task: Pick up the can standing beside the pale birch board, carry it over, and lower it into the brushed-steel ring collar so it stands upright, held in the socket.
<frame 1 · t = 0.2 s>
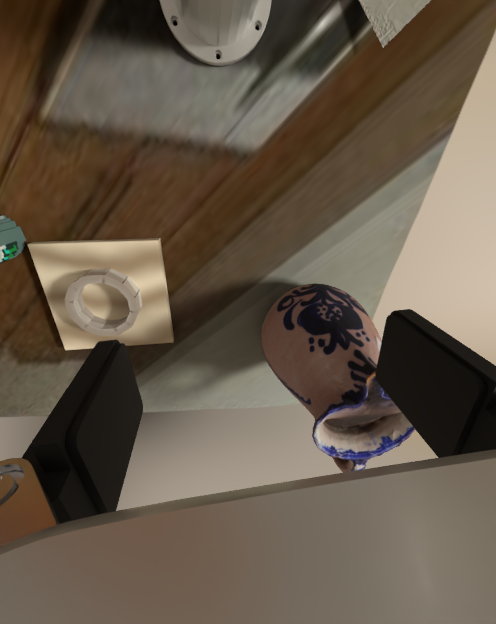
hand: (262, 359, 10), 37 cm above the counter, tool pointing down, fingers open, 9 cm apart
can: (1, 235, 40), on the counter
socket board: (111, 295, 46), on the counter
ceramic pitcher: (301, 323, 53), on the counter
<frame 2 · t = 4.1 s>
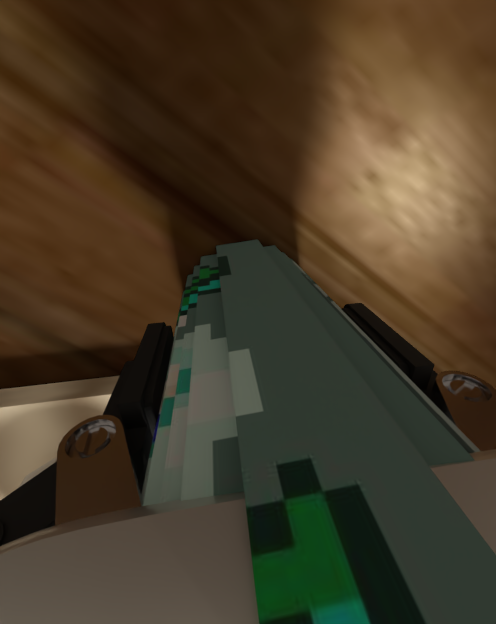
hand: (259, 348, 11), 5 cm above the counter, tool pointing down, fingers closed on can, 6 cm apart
can: (244, 298, 15), on the counter, touching gripper
socket board: (113, 480, 20), on the counter
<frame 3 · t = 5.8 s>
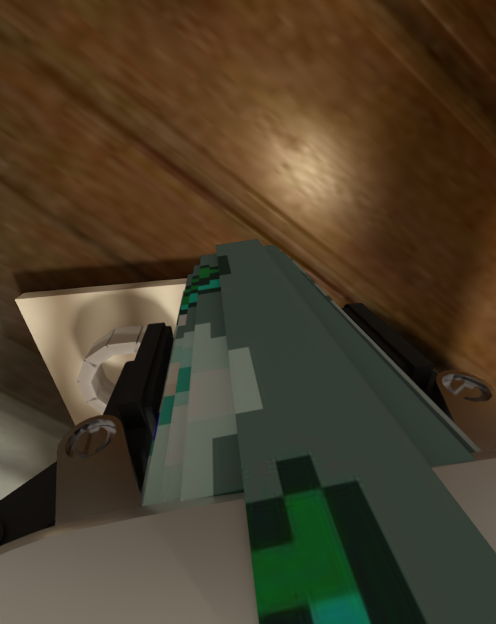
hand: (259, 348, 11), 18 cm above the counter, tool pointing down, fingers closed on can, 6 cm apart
can: (244, 297, 15), point 13 cm above the counter, touching gripper
socket board: (142, 357, 31), on the counter
when the fingers open (7 cm above the counter, at t = 9.8 s): can stays where it is, resting on socket board.
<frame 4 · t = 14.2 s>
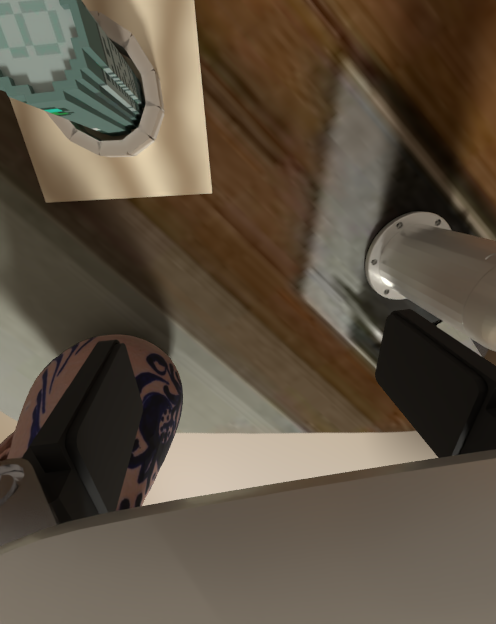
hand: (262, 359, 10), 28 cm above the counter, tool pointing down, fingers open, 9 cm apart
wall: (419, 360, 50), on the counter
can: (112, 99, 27), point 1 cm above the counter, touching socket board
socket board: (114, 101, 28), on the counter
ceramic pitcher: (117, 368, 43), on the counter
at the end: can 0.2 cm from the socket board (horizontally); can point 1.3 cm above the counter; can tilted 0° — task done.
